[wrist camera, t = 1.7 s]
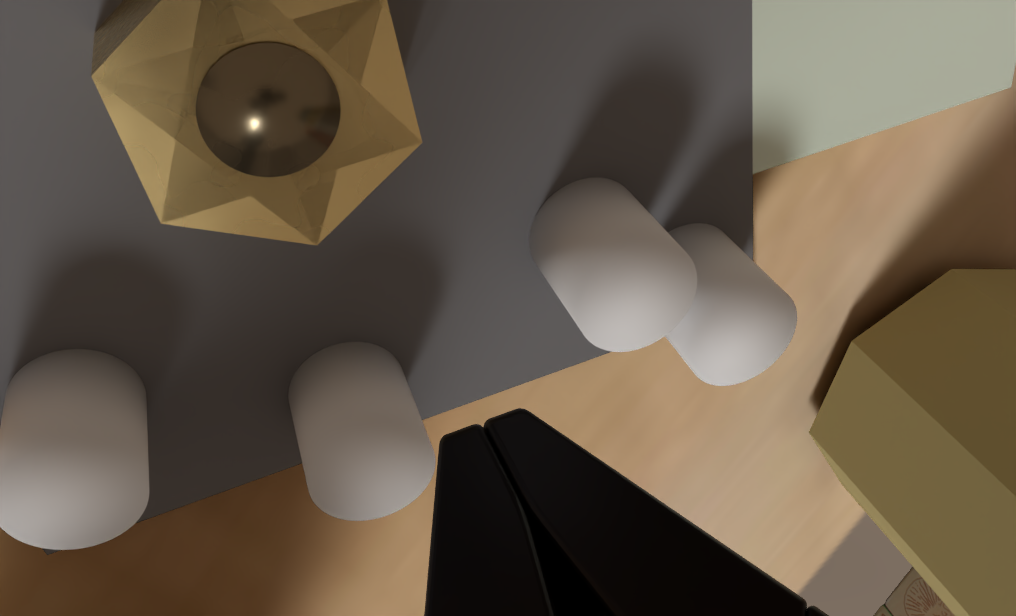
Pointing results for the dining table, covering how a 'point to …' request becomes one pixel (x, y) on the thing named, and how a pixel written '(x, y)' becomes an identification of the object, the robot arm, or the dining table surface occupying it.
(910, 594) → the stack of blocks
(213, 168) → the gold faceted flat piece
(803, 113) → the tile
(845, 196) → the dining table surface
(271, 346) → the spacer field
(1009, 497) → the jar
